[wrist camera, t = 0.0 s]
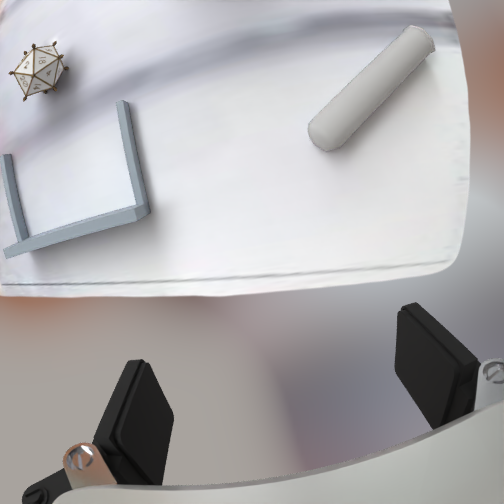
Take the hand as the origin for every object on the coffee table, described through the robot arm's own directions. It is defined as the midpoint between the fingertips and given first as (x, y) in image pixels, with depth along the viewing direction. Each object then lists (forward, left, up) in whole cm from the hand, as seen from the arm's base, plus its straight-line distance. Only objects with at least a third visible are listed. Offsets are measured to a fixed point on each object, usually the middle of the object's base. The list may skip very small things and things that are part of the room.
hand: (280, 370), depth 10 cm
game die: (-28, -24, -32) cm, 48 cm away
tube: (-15, +20, -32) cm, 40 cm away
